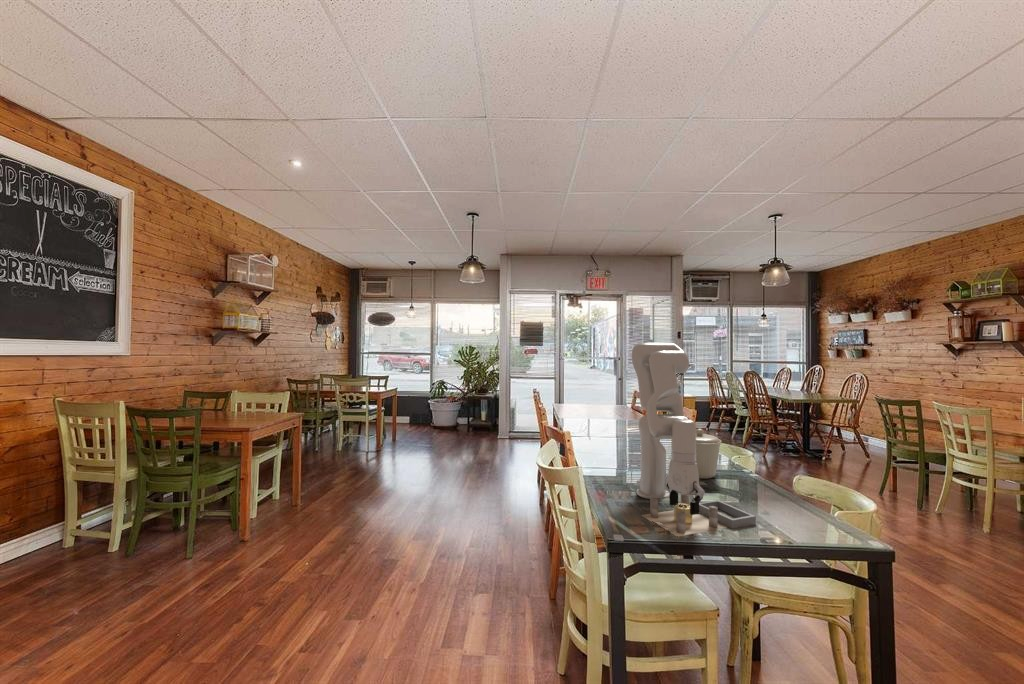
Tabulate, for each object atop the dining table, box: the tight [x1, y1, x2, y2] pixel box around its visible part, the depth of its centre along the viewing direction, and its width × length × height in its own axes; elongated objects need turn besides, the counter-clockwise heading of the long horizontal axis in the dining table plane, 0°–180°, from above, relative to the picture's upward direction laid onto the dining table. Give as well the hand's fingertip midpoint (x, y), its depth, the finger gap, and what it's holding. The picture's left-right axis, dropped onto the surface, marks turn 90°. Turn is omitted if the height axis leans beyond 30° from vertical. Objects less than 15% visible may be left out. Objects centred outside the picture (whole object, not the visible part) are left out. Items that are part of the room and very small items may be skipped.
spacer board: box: [640, 493, 729, 538], centre depth 153 cm, size 18×20×7 cm
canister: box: [696, 428, 722, 480], centre depth 208 cm, size 18×18×21 cm
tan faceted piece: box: [673, 502, 692, 525], centre depth 153 cm, size 5×6×5 cm
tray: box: [699, 499, 757, 529], centre depth 157 cm, size 16×10×4 cm, turn 21°
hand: (684, 509), depth 153 cm, fingers open, 9 cm apart
